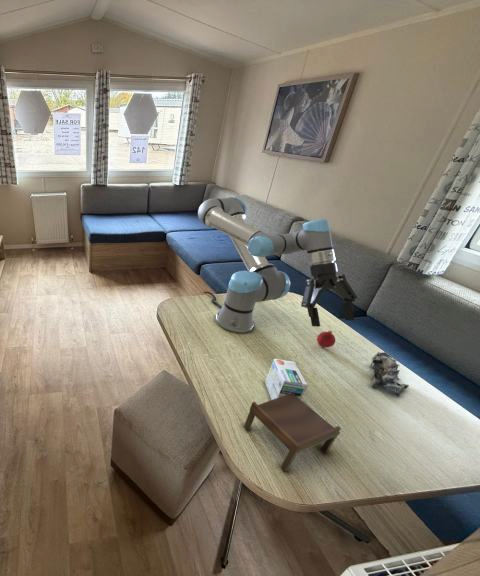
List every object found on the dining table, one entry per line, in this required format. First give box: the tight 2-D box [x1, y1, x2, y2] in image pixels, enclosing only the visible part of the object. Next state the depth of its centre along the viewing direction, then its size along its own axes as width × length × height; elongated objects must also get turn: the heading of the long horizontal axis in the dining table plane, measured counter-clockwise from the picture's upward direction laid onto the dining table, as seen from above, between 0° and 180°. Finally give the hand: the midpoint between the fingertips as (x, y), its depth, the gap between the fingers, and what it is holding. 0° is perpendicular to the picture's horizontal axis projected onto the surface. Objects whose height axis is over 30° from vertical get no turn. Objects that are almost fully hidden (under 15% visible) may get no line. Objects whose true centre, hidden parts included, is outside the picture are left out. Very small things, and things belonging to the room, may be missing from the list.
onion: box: [316, 329, 336, 348], centre depth 120 cm, size 6×6×8 cm
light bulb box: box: [264, 358, 309, 401], centre depth 97 cm, size 11×7×11 cm, turn 168°
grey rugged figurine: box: [370, 351, 410, 397], centre depth 105 cm, size 12×11×15 cm
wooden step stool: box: [243, 393, 342, 473], centre depth 83 cm, size 14×16×10 cm
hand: (333, 323), depth 108 cm, fingers open, 13 cm apart
